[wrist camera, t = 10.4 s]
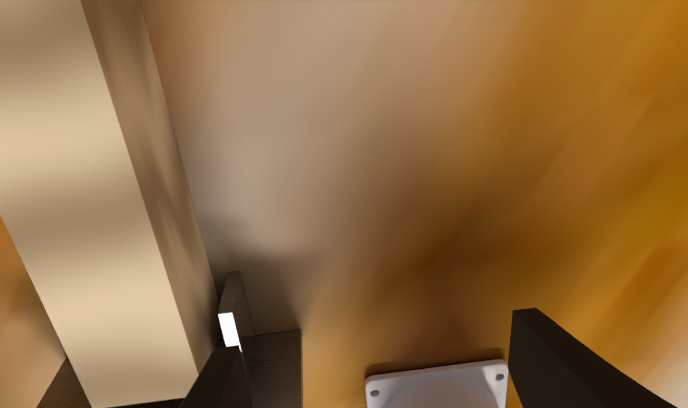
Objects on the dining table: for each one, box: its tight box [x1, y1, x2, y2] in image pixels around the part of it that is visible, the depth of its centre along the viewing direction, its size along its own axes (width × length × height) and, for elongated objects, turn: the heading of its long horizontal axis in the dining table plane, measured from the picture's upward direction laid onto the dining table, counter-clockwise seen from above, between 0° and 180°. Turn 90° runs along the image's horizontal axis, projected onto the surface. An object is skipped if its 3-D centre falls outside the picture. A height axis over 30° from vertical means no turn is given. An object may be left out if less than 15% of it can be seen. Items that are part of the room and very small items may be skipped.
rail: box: [0, 0, 220, 408], centre depth 18 cm, size 16×4×5 cm, turn 5°
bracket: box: [37, 272, 303, 408], centre depth 21 cm, size 5×12×5 cm, turn 95°
